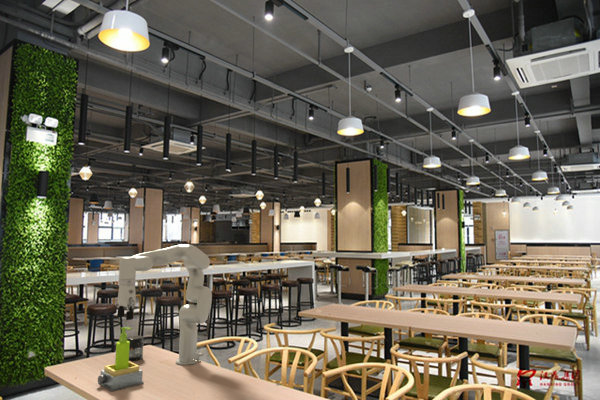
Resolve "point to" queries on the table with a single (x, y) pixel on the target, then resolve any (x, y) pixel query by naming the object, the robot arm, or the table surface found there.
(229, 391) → the table surface
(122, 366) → the soap dispenser
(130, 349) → the supplement container
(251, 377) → the table surface
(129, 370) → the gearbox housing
